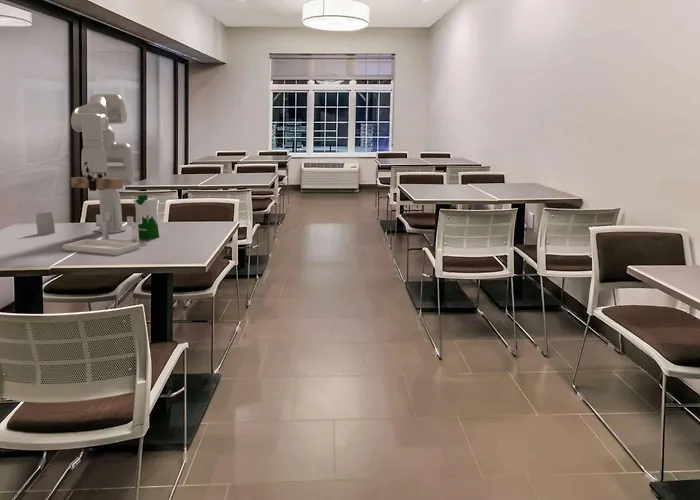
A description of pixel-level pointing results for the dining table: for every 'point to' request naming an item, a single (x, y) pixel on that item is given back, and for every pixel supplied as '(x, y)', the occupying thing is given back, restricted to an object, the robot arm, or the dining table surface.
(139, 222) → the steel stand
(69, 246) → the off-white tray
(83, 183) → the walnut rail
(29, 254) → the dining table surface
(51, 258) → the dining table surface
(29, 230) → the dining table surface
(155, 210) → the milk carton
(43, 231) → the grey block
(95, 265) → the dining table surface
